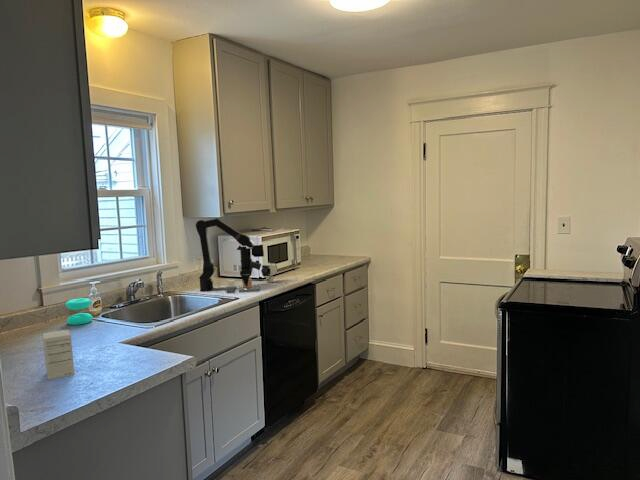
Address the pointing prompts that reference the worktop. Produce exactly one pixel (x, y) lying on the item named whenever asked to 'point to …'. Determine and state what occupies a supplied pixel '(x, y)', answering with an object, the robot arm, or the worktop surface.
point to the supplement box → (58, 354)
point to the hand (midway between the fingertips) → (247, 284)
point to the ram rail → (230, 289)
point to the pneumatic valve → (269, 271)
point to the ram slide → (230, 283)
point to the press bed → (248, 289)
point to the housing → (248, 283)
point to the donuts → (80, 317)
